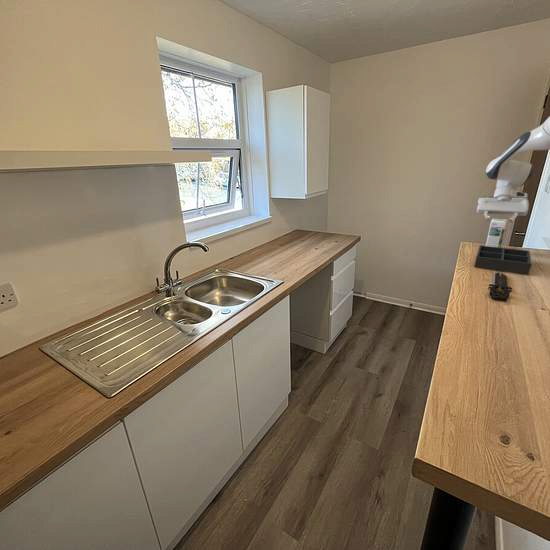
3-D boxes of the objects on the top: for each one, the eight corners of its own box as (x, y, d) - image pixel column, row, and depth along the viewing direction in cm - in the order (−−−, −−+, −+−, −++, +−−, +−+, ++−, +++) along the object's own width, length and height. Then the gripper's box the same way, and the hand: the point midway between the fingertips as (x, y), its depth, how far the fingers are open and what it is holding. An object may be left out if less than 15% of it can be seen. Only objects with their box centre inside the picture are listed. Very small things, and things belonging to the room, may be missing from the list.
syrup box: (484, 251, 140) (491, 220, 134) (486, 247, 144) (493, 217, 138) (498, 253, 136) (506, 221, 131) (500, 249, 140) (508, 218, 135)
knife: (494, 273, 116) (495, 270, 116) (515, 276, 112) (516, 273, 112) (484, 297, 99) (485, 293, 98) (508, 303, 95) (509, 299, 94)
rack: (526, 261, 126) (529, 250, 124) (528, 275, 113) (531, 263, 111) (477, 255, 135) (479, 245, 134) (474, 267, 123) (476, 256, 121)
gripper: (479, 192, 151) (474, 215, 148) (532, 193, 140) (527, 218, 136) (478, 200, 156) (473, 222, 153) (528, 202, 145) (524, 226, 141)
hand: (499, 220), depth 144 cm, fingers open, 8 cm apart
